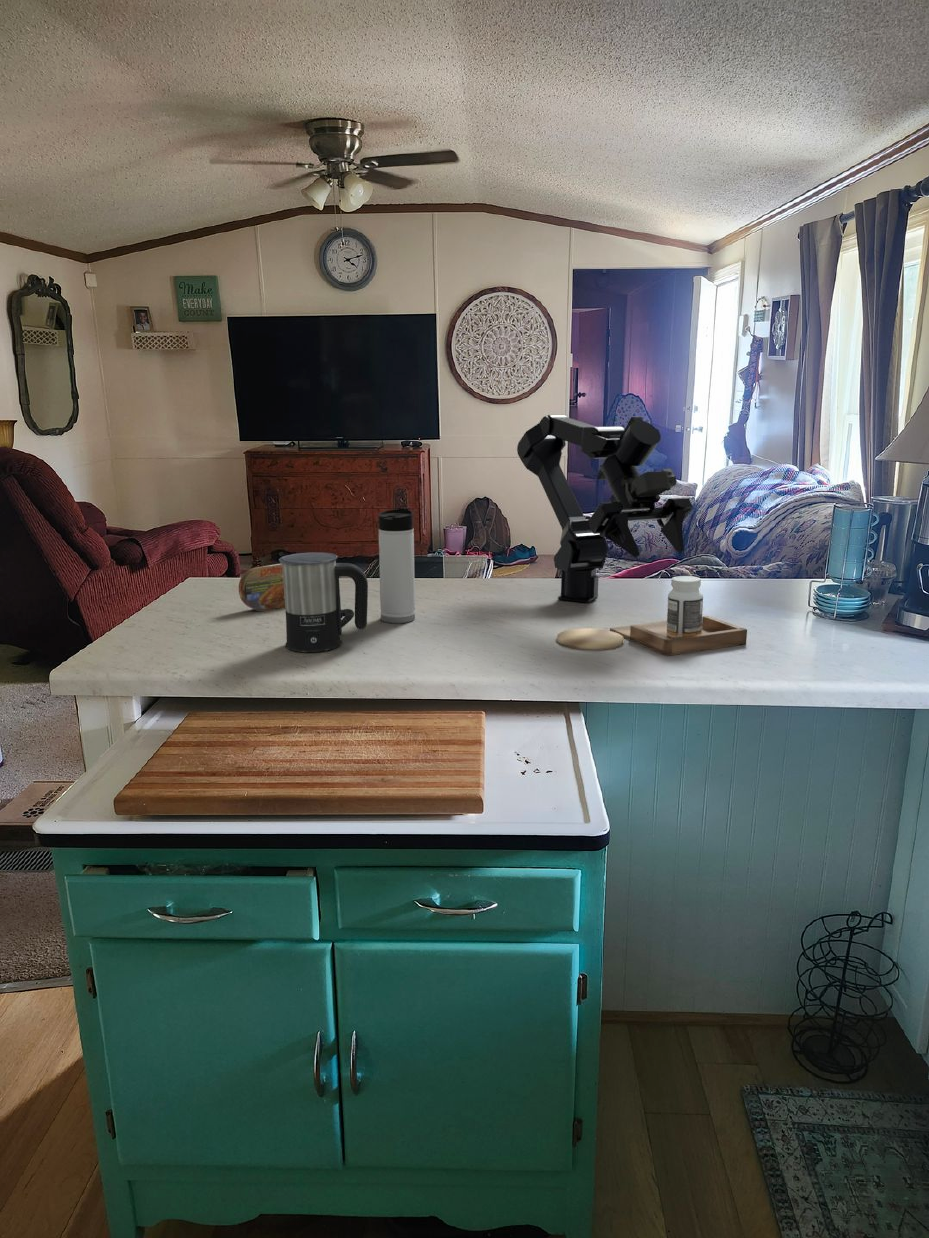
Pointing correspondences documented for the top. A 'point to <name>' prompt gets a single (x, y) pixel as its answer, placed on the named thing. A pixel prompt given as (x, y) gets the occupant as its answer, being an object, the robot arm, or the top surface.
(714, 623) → the tray
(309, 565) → the milk frother
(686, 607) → the pill bottle
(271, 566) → the tin
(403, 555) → the travel mug
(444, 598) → the top surface
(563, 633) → the cork mat
